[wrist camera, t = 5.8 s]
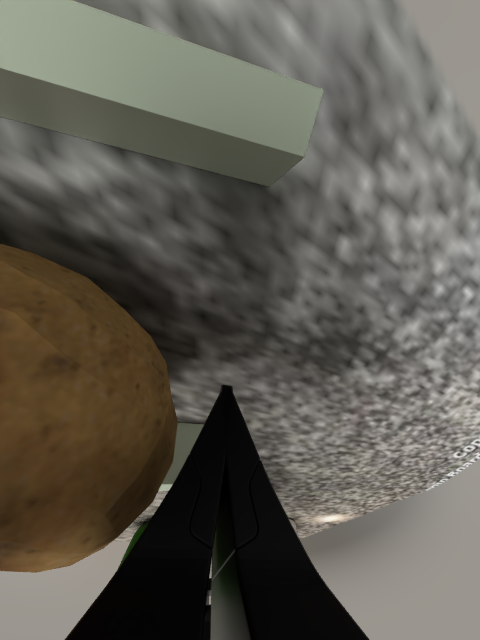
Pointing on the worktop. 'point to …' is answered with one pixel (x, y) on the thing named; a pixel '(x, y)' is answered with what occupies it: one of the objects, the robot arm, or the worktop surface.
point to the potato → (74, 415)
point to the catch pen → (150, 101)
